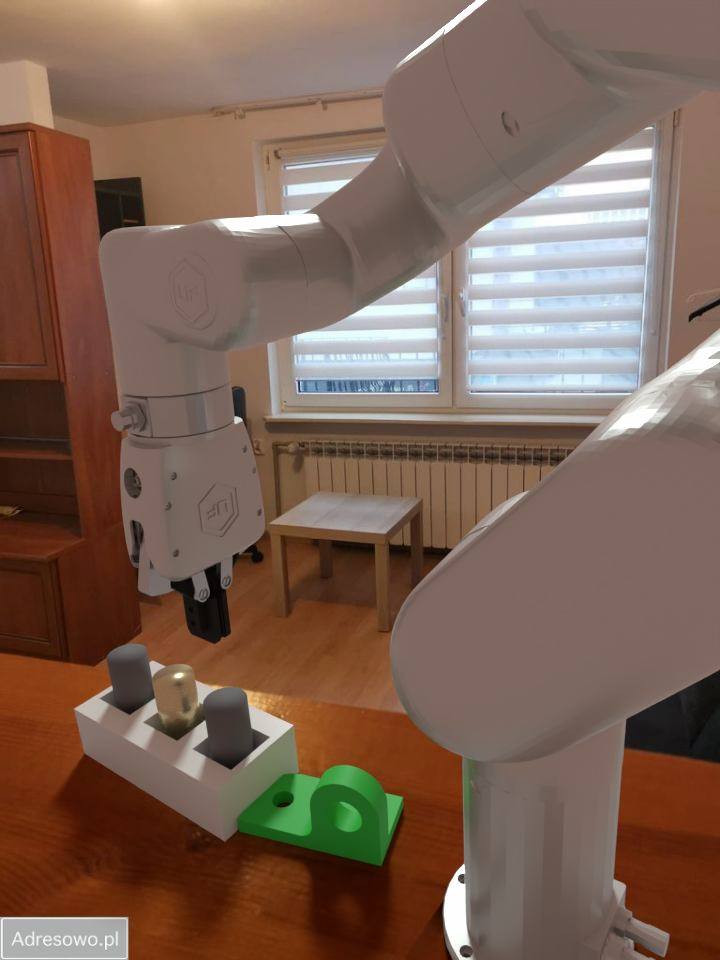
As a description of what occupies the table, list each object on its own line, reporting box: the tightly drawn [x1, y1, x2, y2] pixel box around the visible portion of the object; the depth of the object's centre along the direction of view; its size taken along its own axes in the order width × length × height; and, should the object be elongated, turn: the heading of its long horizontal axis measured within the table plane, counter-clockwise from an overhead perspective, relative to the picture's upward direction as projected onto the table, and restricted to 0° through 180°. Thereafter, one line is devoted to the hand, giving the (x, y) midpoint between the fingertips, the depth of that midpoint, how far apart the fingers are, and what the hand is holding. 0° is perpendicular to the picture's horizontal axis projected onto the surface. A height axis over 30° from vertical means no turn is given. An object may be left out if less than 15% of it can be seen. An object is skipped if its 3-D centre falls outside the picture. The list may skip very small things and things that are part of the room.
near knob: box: [203, 686, 254, 770], centre depth 60 cm, size 4×4×6 cm
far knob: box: [106, 643, 155, 715], centre depth 67 cm, size 4×4×6 cm
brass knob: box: [152, 663, 202, 741], centre depth 63 cm, size 4×4×6 cm
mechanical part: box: [238, 764, 404, 867], centre depth 57 cm, size 12×6×8 cm, turn 71°
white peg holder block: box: [73, 660, 300, 842], centre depth 65 cm, size 19×9×6 cm, turn 54°
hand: (210, 634), depth 57 cm, fingers closed
